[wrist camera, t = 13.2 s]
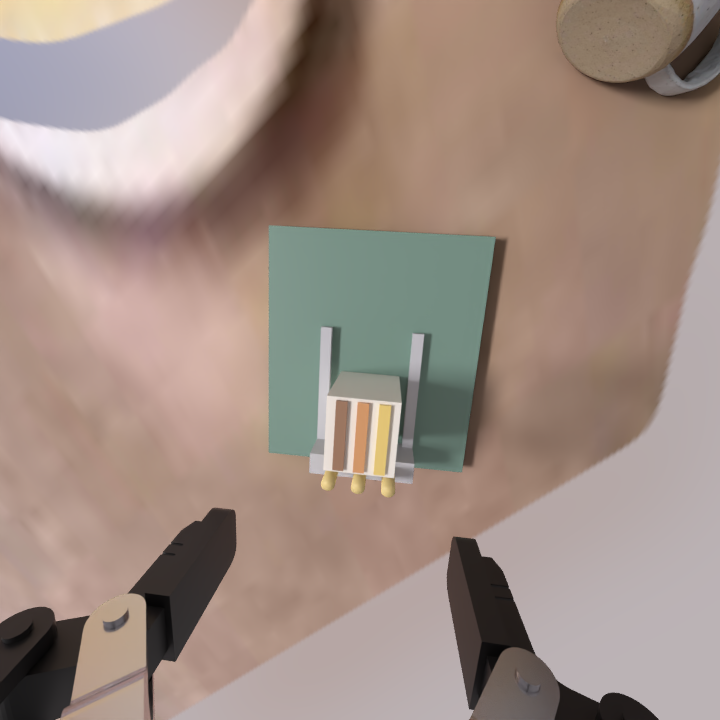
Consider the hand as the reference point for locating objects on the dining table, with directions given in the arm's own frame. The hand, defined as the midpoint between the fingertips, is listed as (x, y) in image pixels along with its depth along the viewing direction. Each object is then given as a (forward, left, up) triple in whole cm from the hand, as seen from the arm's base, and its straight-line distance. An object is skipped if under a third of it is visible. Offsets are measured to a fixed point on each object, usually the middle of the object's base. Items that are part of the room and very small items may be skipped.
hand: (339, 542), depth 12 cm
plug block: (0, 0, -15) cm, 15 cm away
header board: (-4, 0, -16) cm, 16 cm away
